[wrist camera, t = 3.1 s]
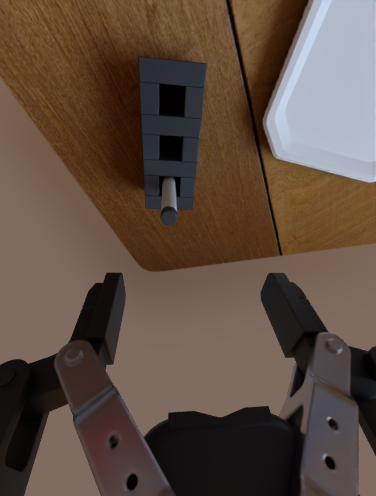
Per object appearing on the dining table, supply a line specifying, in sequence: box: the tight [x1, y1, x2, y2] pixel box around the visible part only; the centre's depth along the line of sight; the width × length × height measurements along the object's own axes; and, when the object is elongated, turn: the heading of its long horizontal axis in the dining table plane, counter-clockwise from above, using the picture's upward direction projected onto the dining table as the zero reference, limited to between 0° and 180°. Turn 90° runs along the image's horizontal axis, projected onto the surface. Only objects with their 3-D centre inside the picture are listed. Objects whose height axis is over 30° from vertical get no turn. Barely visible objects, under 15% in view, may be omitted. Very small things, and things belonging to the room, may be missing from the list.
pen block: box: [138, 56, 207, 210], centre depth 23 cm, size 13×6×5 cm, turn 176°
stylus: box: [161, 176, 177, 225], centre depth 23 cm, size 1×1×12 cm
